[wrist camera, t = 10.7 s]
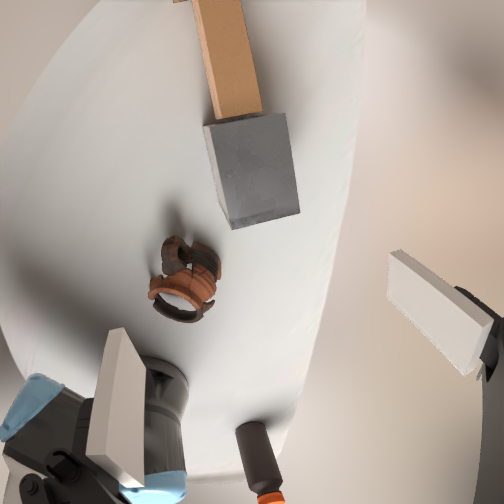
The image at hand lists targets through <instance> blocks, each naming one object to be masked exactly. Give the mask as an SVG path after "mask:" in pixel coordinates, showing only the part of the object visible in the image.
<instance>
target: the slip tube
mask: <svg viewBox="0 0 504 504" xmlns="http://www.w3.org/2000/svg"><path fill="white" fill-rule="evenodd" d="M192 5H193V10H194V15H195V20H196V25H197V30H198V35H199V40H200V45H201V50H202V55H203V60H204V65H205V70H206V75H207V80H208V84H209V89H210V94H211V99H212V104H213V109H214V114H215V118H216V119H223V118H228V117H233V116H238V115H244V114H249V113H255V112H261V111H263V109H262V104H261V98H260V93H259V88H258V83H257V78H256V73H255V68H254V63H253V58H252V53H251V48H250V44H249V39H248V34H247V30H246V25H245V20H244V16H243V11H242V7H241V3H240V0H192Z"/></svg>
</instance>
